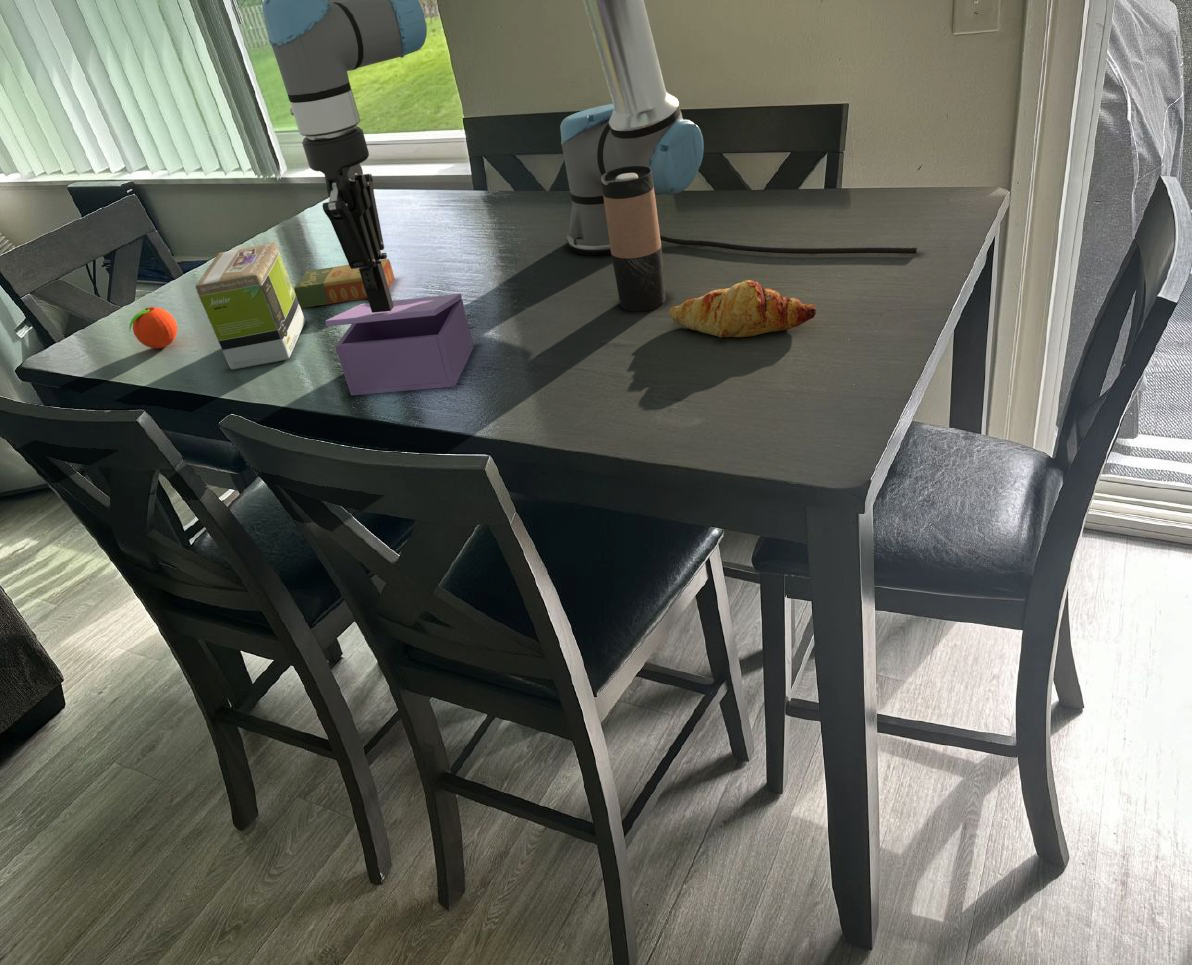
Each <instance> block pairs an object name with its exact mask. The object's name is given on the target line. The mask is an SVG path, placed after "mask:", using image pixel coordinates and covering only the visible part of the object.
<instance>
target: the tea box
mask: <svg viewBox="0 0 1192 965" xmlns="http://www.w3.org/2000/svg"><path fill="white" fill-rule="evenodd" d="M280 252H281V251H280V250H279V247H278V245H277V242H276V241H275V242H268V243H263V244H259V245H253V246H249V247H243V248H239V249H234V250H228V251H223V252H221V251H220V252H218V253H217V254H216V256H215V258H214V259H213V261H212V262H211V263H210V265H209V266H208V267H207V269H206V270H205V272H204V273H203V274H202V275H201V278H200V279H199V281H198V282H197V284H195V290H196V292H197V296H198V298H199V301H200V302H201V304H202V306H203V309H204V311H205V313H206V316H207V320H208V321H209V323H210V325H211V328H212V330H213V332H214V335H215V337H216V339H217V342H218V344H219V346H220V348H221V351H222V354H223V356H224V358H225V360H226V362H227V364H228V367H229V369H230V370H238V369H244V368H250V367H255V366H259V365H265V364H266V365H267V364H271V363H276V362H281V361H286V360H289V359H290V358H291V356H292V353H293V351H294V349H295V346H296V344H297V341H298V339H299V337H300V335H301V332H302V331H303V328H304V326H305V324H306V319H305V316H304V313H303V311H302V308H301V307H300V305H299V303H298V300H297V297H296V294H295V291H294V287H293V284H292V282H291V279H290V277H289V273H288V271H287V268H286V266H285V263H284V261H283V258H282V255H281V253H280Z"/></svg>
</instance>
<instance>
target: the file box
mask: <svg viewBox="0 0 1192 965" xmlns="http://www.w3.org/2000/svg"><path fill="white" fill-rule="evenodd" d="M474 348H475V346H474V342H473V338H472V334H471V330H470V326H469V321H468V318H467V313H466V309H465V304H464V301H463V298H462V299H461V300H459V301H457V302H456V303H454V304H453V305H451V306H449V307H448V308H446V309H445V310H443V311H441V312H440V313H438V314H437V315H435V316H425V317H415V318H405V319H395V320H386V321H376V322H366V323H356V324H350V326H349V327H348V328H347V330H346V331H345V332H344V334H343V335H342V336H341V337H340V339H339V340H338V342H337V343H336V344H335V345H334V349H335V351H336V355H337V357H338V360H339V363H340V364H339V365H340V366H341V369H342V372H343V375H344V378H345V381H346V384H347V388H348V390H349V393H350V396H362V395H371V394H373V395H374V394H384V393H396V392H408V391H418V390H419V391H421V390H431V389H443V388H453V387H456V386H457V384H458V382H459V379H460V378H461V376H462V373H463V371H464V369H465V367H466V365H467V362H468V360H469V358H470V357H471V354H472V352H473V349H474Z"/></svg>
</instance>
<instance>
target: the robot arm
mask: <svg viewBox="0 0 1192 965" xmlns="http://www.w3.org/2000/svg"><path fill="white" fill-rule="evenodd" d="M582 1H583V4H584V8H585V12H586V16H587V18H588V22H589V25H590V29H591V32H592V36H593V40H594V43H595V47H596V50H597V54H598V57H599V60H600V64H601V67H602V72H603V74H604V78H605V82H606V85H607V88H608V92H609V95H610V100H611V103H609V104H603V105H600V106H595V107H591V108H588V109H584V110H581V111H578V112H575V113H573V114H570V115H568V116H566V117H565V118H564V119H563V120H562V121H561V123H560V127H559V128H560V137H561V139H560V140H561V141H560V145H561V149H562V155H563V160H564V165H565V172H566V177H567V183H568V188H569V193H570V199H571V210H570V217H569V222H568V230H567V234H566V240H567V242H568V243H567V244H568V248H569V249H570V250H571V251H572V252H574V253H576V254H580V255H585V256H604V255H611V248H610V241H609V234H608V226H607V219H606V212H605V204H604V197H603V190H602V183H601V177H602V175H603V174H605V173H607V172H609V171H611V170H614V169H618V168H622V167H629V166H645V167H648V168H650V169H651V170H652V177H653V185H654V193H655V196H661V195H667V196H668V195H669V196H672V195H674V196H675V195H677V194H680V193H682V192H683V191H685V190H686V189H687V188H689V187H690V185H691V184H692V183H693V182H694V180H695V179H696V176H697V175H698V173H699V169H700V167H701V165H702V161H703V158H704V147H705V146H704V137H703V133H702V130H701V128H700V127H699V126H698V125H697V124H696V123H694V122H693V121H691V120H690V119H687V118H683V114H682V110H681V106H680V102H679V100H678V98H677V96H674V95H672V94H671V93H669V92H668V91H667V90H666V85H665V81H664V79H663V78H664V77H663V74H662V70H661V65H660V61H659V57H658V53H657V49H656V44H655V40H654V36H653V33H652V29H651V25H650V20H649V17H648V13H647V8H646V4H645V1H644V0H582ZM261 8H262V14H263V20H264V24H265V28H266V32H267V36H268V43H269V44H270V46H271V49H272V51H273V54H274V57H275V60H276V63H277V66H278V69H279V72H280V75H281V79H282V81H283V86H284V88H285V91H286V95H287V98H288V101H289V104H290V108H289V113H290V115H291V116H293V117H294V120H295V124H296V126H297V131H298V133H299V135H301V136H303V139H302V142H301V144H302V147H303V148H302V149H303V150H304V154H305V157H306V160H307V164H308V166H309V168H310V170H312V171H314V172H320V173H322V174H323V176H324V181H325V188H326V192H327V196H328V198H329V201H327V202H322V211H323V212H324V214H325V215H326V216H327V218H328V220H329V221H330V224H331V226H332V228H333V231H334V232H335V235H336V238H337V240H338V242H339V244H340V247H341V249H342V252H343V254H344V256H345V259H346V261H347V263H348V265H349V266H350V268H351V269H358V268H359V271H360V274H361V278H362V281H363V284H364V288H365V291H366V294H367V298H366V299H367V301H368V303H369V304H370V308H371V311H372V313H375V312H385V311H391V310H392V308H393V307H394V305H393V301H394V300H393V298H392V295H391V291H390V288H389V287H388V284H387V280H386V277H385V273H384V270H383V266H382V263H381V261H379V260H383V259H388V254H387V252H382V251H384V249H385V243H384V239H383V234H382V228H381V221H380V217H379V214H378V208H377V201H376V197H375V191H374V190H375V189H374V188H375V187H374V178H373V177H374V176H373V175H372V173H364V172H363V171H364V170H363V168H362V166H361V164H362V163H364V162H365V161H367V159H368V158H369V156H370V152H369V149H368V144H367V141H366V138H365V134H364V130H363V129H362V128H361V127H359V126H358V125H359V124H360V122H361V117H360V114H359V111H358V107H357V103H356V100H355V97H354V96H355V95H354V93H353V89H352V86H351V83H350V79H349V73H348V72H351V71H354V70H358V68H359V69H360V68H363V67H367V66H371V65H374V64H378V63H382V62H383V63H384V62H386V61H391V60H394V59H398V58H400V59H403V58H405V57H406V56H408V55H410V54H412V53H415V52H418V51H419V50H421V49H422V48H423V46H424V45H425V42H426V39H427V34H428V33H427V32H428V27H427V26H428V25H427V22H426V21H427V20H426V16H425V12H424V8H423V7H422V4H421V3H420V1H419V0H263V2H262V6H261ZM660 240H661V242H666V243H670V244H675V245H682V246H683V245H684V246H701V247H711V248H719V249H726V250H732V251H742V252H752V253H753V252H754V253H767V254H789V255H791V254H792V255H793V254H795V255H796V254H797V255H823V254H824V255H826V254H827V255H835V254H836V255H839V254H840V255H841V254H905V255H906V254H907V255H915V254H917V253H918V247H894V246H893V247H879V246H876V247H874V246H871V247H870V246H869V247H868V246H867V247H865V246H861V247H860V246H859V247H774V246H773V247H772V246H756V245H744V244H735V243H727V242H719V241H714V240H713V241H712V240H700V239H684V238H676V237H671V236H667V235H663V234H660Z"/></svg>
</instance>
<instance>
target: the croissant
mask: <svg viewBox="0 0 1192 965" xmlns="http://www.w3.org/2000/svg"><path fill="white" fill-rule="evenodd" d="M816 307H817V306H816V304H814V303H802V301H801V300H800V299H798V298H794V297H785V296H782V295H781V294H780V293H779V292H778V291H777V290H774V288H766V287H763V285H762V284H760V282H758V281H757V280H749V279H745V280H743V281H741V282H738V283H735V284H734V285H732V286H731V287H728V288H726V287H725V288H718V289H714V290H711V291H710V292H708V293H705V294H704V295H702V296H700V297H695V298H689V299H687V300H685V301H684V302H682V303H681V304H679V305H674V306H671V308H670V309H669V317H670V319H671V320H672V321H673V322H675V323H677V324H678V325H681V326H684V327H685V328H687V329H689V330H692V331H697V332H700V333H703V334H707V335H711V336H715V337H718V338H724V337H725V338H731V337H732V338H746V337H755V336H758V335H764V334H767V333H771V332H781V331H785V330H791V329H793V328H797V327H799V326H802V325H803V324H805V323H806V322H808V321H810V320H812V319H814V318H815V316H816V315H817V308H816Z"/></svg>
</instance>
